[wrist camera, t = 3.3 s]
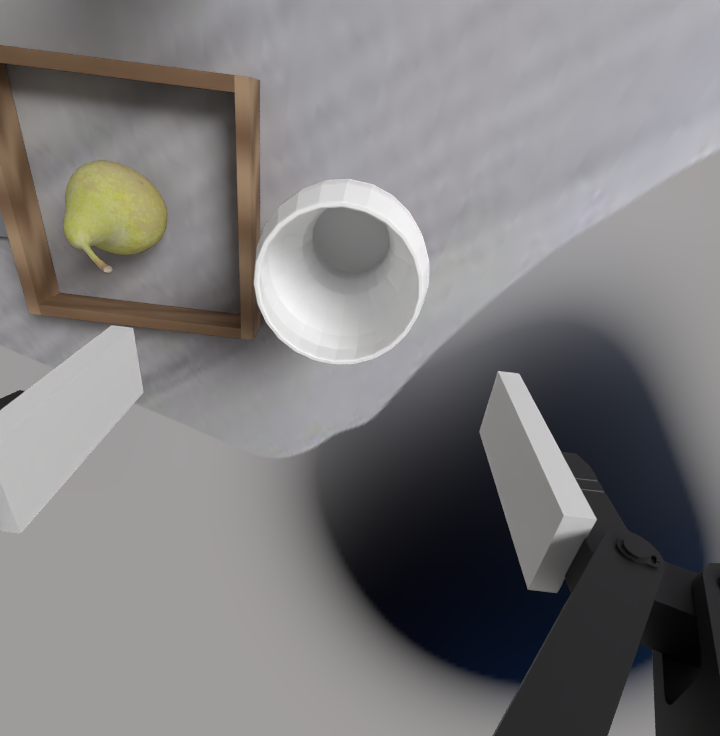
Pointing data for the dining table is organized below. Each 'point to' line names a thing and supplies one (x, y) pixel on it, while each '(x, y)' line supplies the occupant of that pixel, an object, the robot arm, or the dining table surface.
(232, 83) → the walnut frame
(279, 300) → the cup
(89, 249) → the fruit
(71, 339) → the dining table surface
